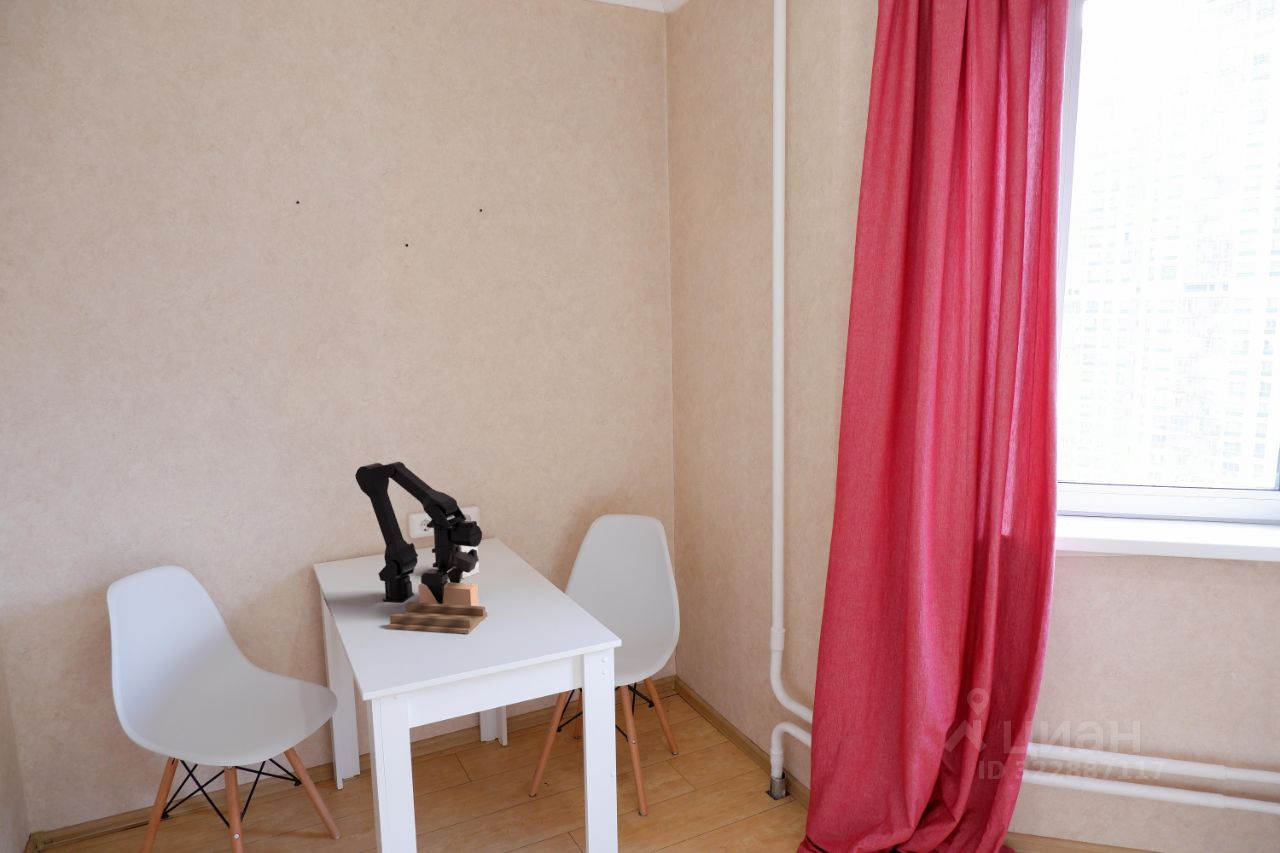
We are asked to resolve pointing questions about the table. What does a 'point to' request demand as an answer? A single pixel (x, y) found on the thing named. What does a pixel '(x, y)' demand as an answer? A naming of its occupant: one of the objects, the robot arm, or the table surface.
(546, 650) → the table surface
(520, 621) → the table surface
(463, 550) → the supplement box
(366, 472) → the robot arm
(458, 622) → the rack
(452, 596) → the peach rectangular block
